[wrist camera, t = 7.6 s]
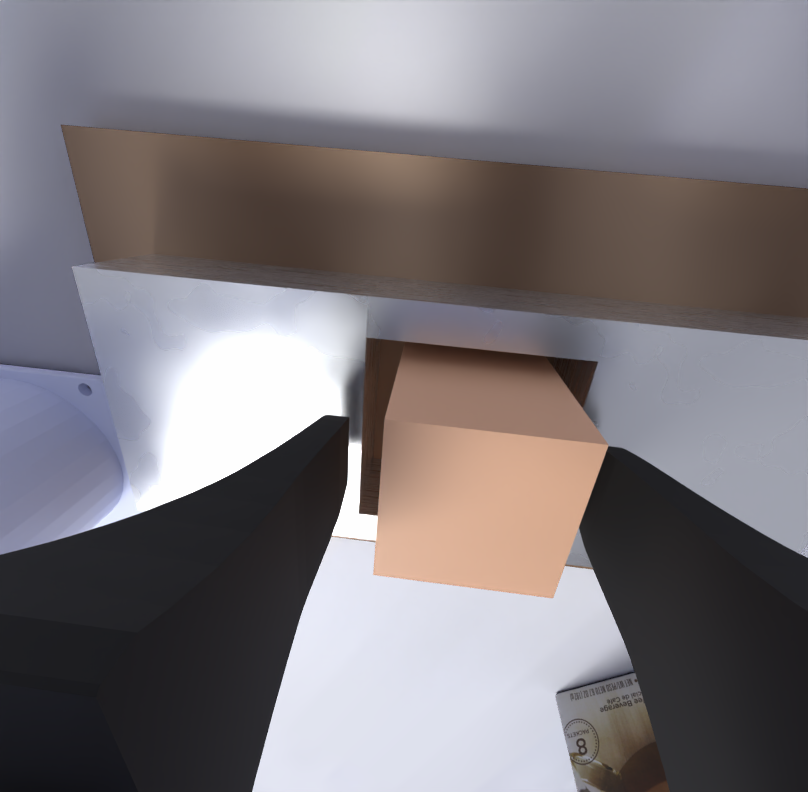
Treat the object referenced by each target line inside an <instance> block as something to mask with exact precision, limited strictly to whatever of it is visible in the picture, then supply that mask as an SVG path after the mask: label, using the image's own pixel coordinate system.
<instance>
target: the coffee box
mask: <svg viewBox="0 0 808 792" xmlns="http://www.w3.org/2000/svg"><path fill="white" fill-rule="evenodd" d="M556 702H557V706H558V710H559V714H560V719H561V723H562V727H563V731H564V736H565V740H566V744H567V748H568V752H569V756H570V760H571V765H572V770H573V774H574V778H575V783H576V787H577V792H670V791H669V787H668V783H667V779H666V775H665V771H664V768H663V764H662V761H661V757H660V754H659V750H658V747H657V744H656V740H655V737H654V733H653V730H652V726H651V723H650V719H649V716H648V712H647V709H646V706H645V703H644V700H643V696H642V693H641V690H640V687H639V684H638V681H637V677H636V674H635V673H631V674H628V675H624V676H620V677H617V678H613V679H609V680H606V681H602V682H598V683H595V684H591V685H587V686H584V687H580V688H577V689H573V690H569V691H566V692H562V693H558V694H556Z"/></svg>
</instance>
